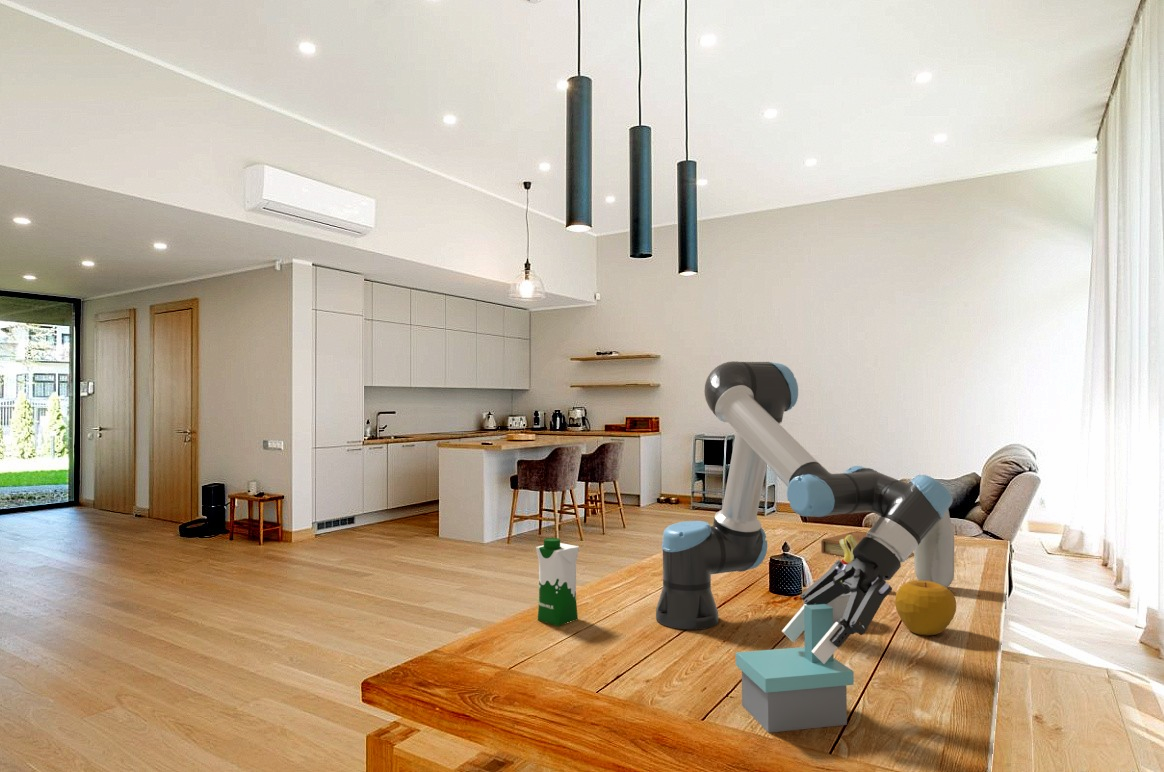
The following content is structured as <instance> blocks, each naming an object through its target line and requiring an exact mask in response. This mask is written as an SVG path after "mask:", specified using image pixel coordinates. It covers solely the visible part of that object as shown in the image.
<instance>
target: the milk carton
mask: <svg viewBox="0 0 1164 772" xmlns="http://www.w3.org/2000/svg"><path fill="white" fill-rule="evenodd" d="M535 550H536V556H537V560H538V581H539V583H538V609H537V610H538V611H537V621H540V622H543V623H546V624H548V625H553V626H555V627H560V625H561V626H563V625H566V624H568V623H567V622H569V623H571V622H570V621H572V622H574V621H573V620H575V621H577V620H578V619H579V616H578V606H577V560H578V556H579V550H580V546H579V545H573V544H568V543H562V542H561V538H558V537H546V538H544V539H543V544H542V545H539V546H535ZM576 619H577V620H576ZM565 623H566V624H565ZM562 624H563V625H562Z"/></svg>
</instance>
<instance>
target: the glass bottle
mask: <svg viewBox="0 0 1164 772" xmlns="http://www.w3.org/2000/svg"><path fill="white" fill-rule="evenodd" d="M913 554H914V555H913V557H914V558H913V559H914V562H913V563H914V573H915V577H916V579H917V581H930V582H935V583H938V584H940V585H942V586H944V587H946V588H949V587H950V586H951V584H952V583H953V581H954V578H955V532H954V527H953V524H952V519H951V517H950V511H949V509H948V510H947V511H946V512H945V514H944V515H943V518H942V519H941V520H940V521H939V522H938V523H937V524H936V525H935V526H934V527H933V528H932V529H931V531H930V532H929V533H928V534H927V535H926V536H925V537H924V538H923V539H922V541H921V543H920V544H919V545H918V546H917V547H916V548H915V549H914V551H913Z"/></svg>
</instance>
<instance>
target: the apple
mask: <svg viewBox="0 0 1164 772" xmlns="http://www.w3.org/2000/svg"><path fill="white" fill-rule="evenodd" d="M894 604H895V609H896V612H897V614H898V616H899V618H900V620H901V622H902V623H903V625H904V626H905V627H906V629H907V630H909V631H910V632H912V633H913V634H916V635H919V636H935V635H938V634H940V633H943V632H944V631H945V630H946V629H947V628H948V626H949V625H950V624H951V622H952V620H953V619H954V617H955V614H956V611H957V600H956V597H955V595H954V594H953V592H952V591H951V590H950V589H949V587H947V588H946V587H944V586H942V585H940V584H938V583H935V582H930V581H918V580H911V581H910V580H909V581H907V582H905V583H903V584H902V585H900V586H899V588H898V590H897V591H896V593H895V599H894Z"/></svg>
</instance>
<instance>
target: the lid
mask: <svg viewBox="0 0 1164 772" xmlns="http://www.w3.org/2000/svg"><path fill="white" fill-rule="evenodd" d="M833 625H834V624H833V608H832V607H830V606H828V605H826V604H817V605H804V628H805V630H804V646H802V647H790V648H789V647H787V648H776V649H762V650H751V651H750V650H749V651H738V652H735V666H736V667H737V668H738V669H739V670H740V671H741V672H742V671H743V672H744V673H745V674H746V675H747V676H748V677H749V678H750V679H751V680H752V681H753V682H755V683H756V684H757V685H758V686H759V687H760V688H761V689H762V690H763V691H764V692H765V693H768V692H779V691H790V690H801V689H812V688H823V687H834V686H845V685H846V686H854V682H855V681H854V670H853V669H851V668H849V667H848V666H847V665H845V664H843V663H842V662H840V661H839V660H838V659H836V658H834V653H833V654H832V655H831V657H830V658H829V659H828V660H827V661H826V663H825V664H824V663H822V662H821V661H820V660H819V659H818V658H817V657H816V656H815V655H814V654H813V653H812V652H811V651H812V650H813V649H814V647H815V646H816V645H817V644H818V643H819V641H820V640H821V639H822V638H823V637H824V635H825V634H826V633H827V632H828V631H829V630H830V628H831V627H832V626H833Z"/></svg>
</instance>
